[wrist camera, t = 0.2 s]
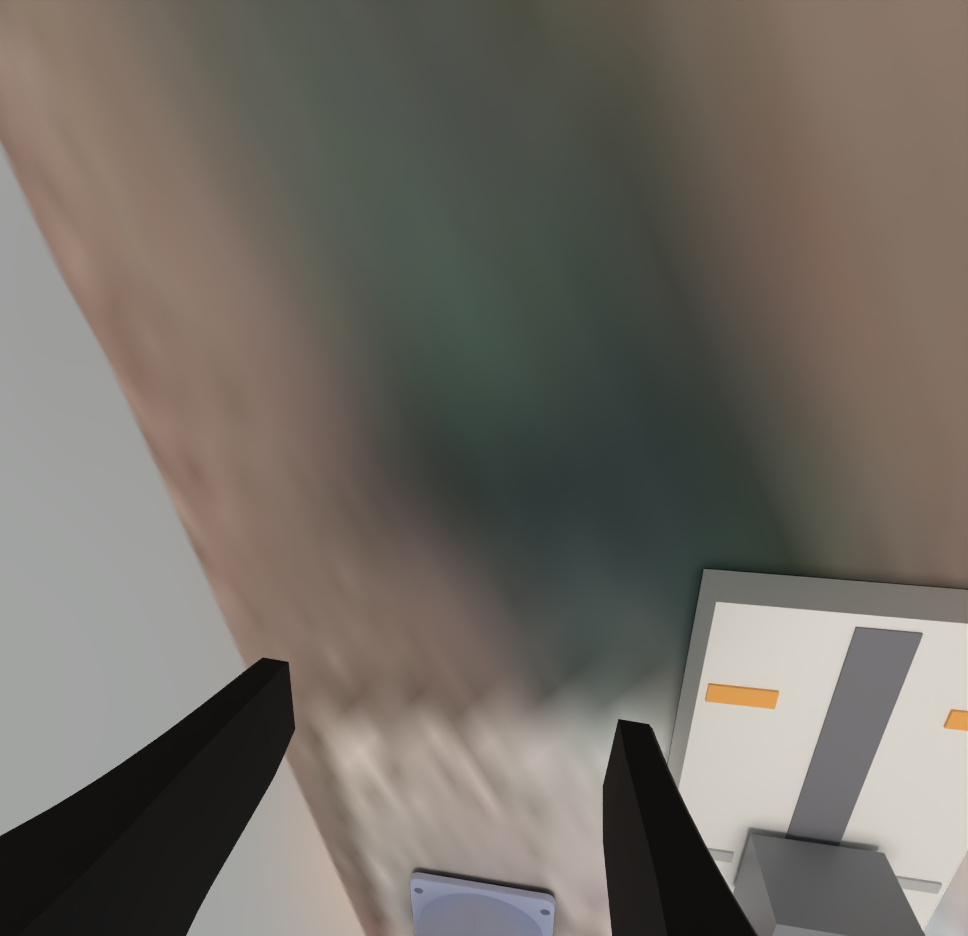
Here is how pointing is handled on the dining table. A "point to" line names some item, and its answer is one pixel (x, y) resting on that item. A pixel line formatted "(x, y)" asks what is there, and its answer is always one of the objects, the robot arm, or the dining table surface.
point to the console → (828, 722)
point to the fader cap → (820, 891)
